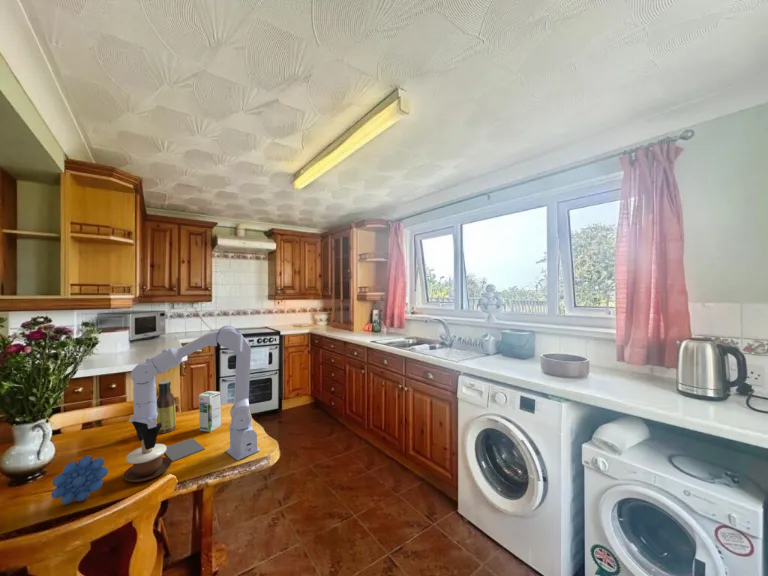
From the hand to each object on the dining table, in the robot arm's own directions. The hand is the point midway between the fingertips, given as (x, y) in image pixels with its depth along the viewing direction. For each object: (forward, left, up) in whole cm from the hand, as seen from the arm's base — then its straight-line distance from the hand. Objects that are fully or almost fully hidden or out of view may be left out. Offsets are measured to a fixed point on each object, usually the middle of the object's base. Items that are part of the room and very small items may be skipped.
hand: (146, 444), depth 99 cm
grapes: (0, +15, -9) cm, 18 cm away
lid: (0, 0, -3) cm, 3 cm away
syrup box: (+17, -25, -9) cm, 32 cm away
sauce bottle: (+29, -13, -9) cm, 33 cm away
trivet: (+7, -12, -9) cm, 17 cm away
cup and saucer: (0, 0, -10) cm, 10 cm away
